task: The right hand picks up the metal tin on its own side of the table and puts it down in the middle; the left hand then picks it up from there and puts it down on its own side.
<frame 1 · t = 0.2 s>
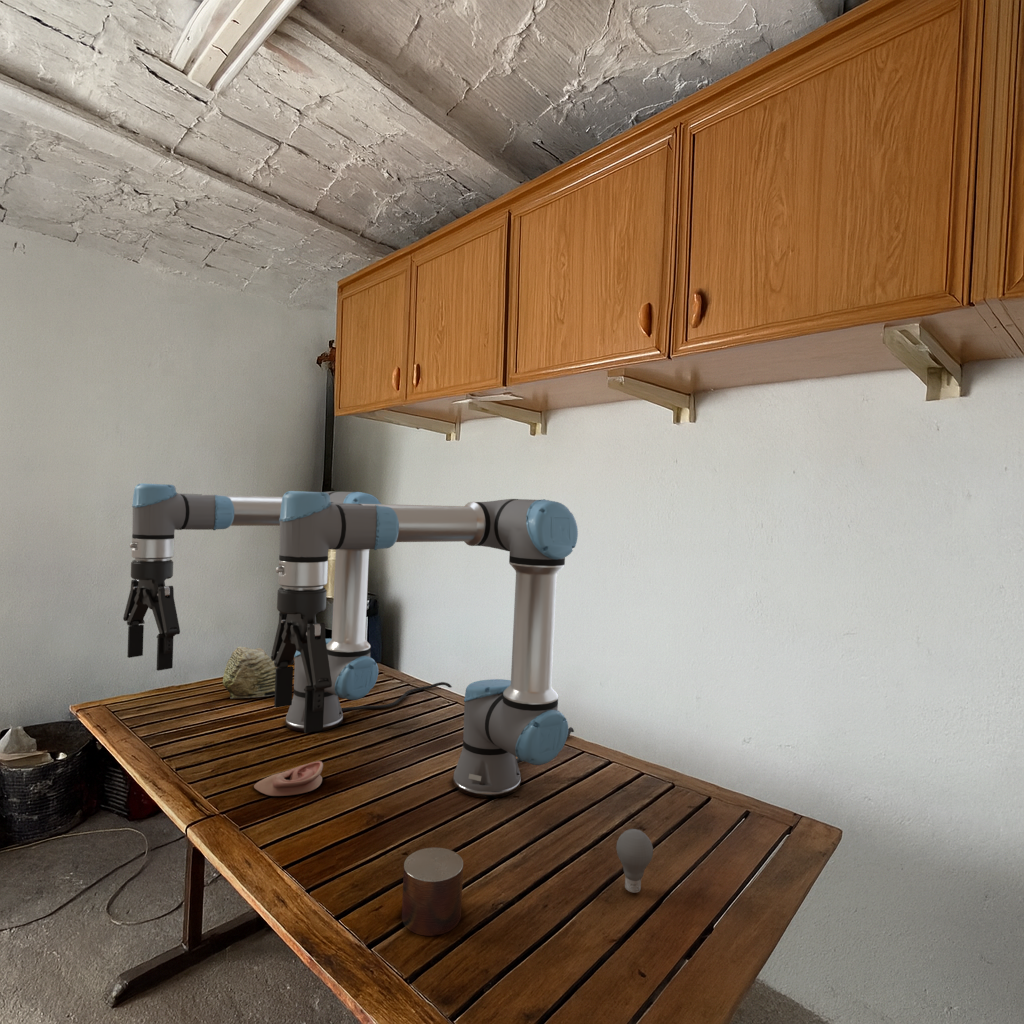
left hand: (149, 662, 130), 28 cm above the table, tool pointing down, fingers open, 13 cm apart
right hand: (297, 717, 102), 28 cm above the table, tool pointing down, fingers open, 13 cm apart
tin: (431, 915, 97), on the table
anatomical model: (288, 785, 138), on the table
fossil: (254, 694, 198), on the table
light bulb: (632, 891, 106), on the table
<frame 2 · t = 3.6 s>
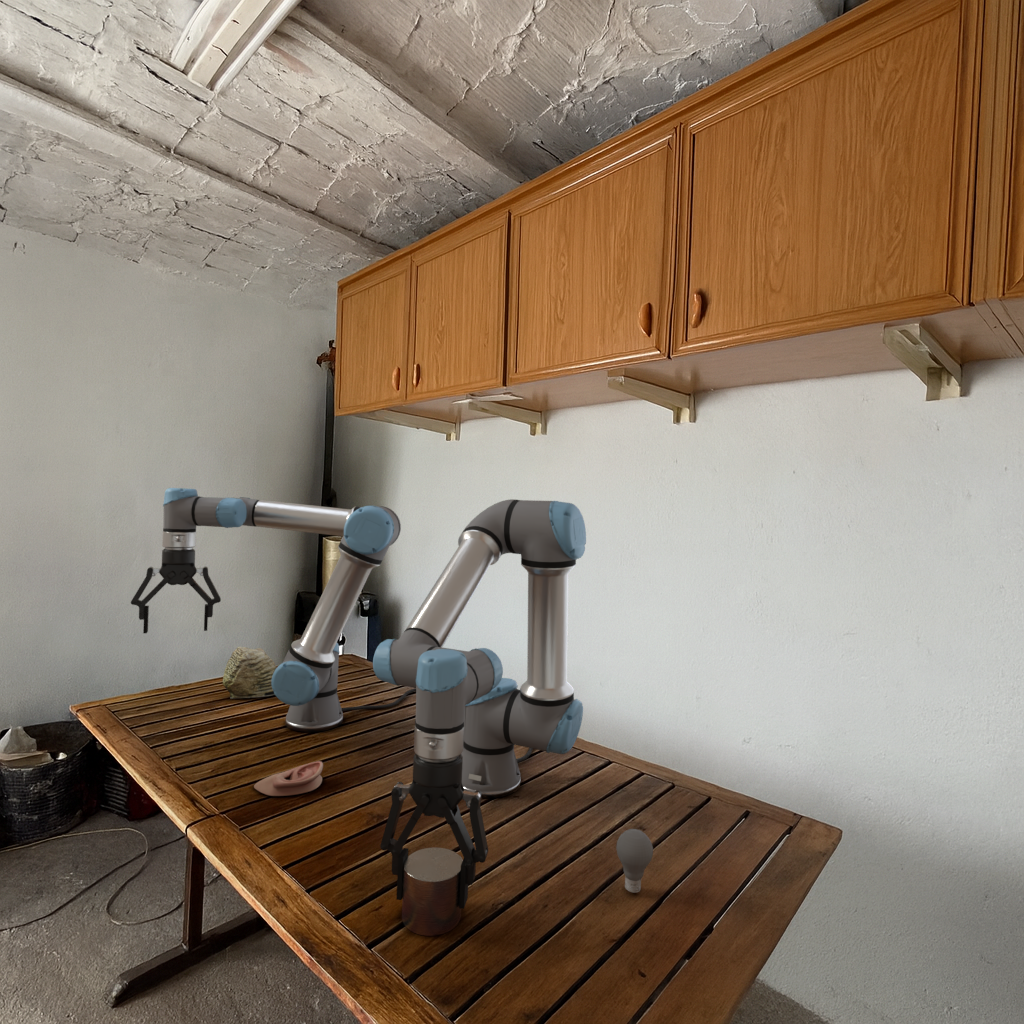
left hand: (176, 631, 162), 27 cm above the table, tool pointing down, fingers open, 13 cm apart
right hand: (432, 898, 97), 3 cm above the table, tool pointing down, fingers closed on tin, 9 cm apart
tin: (431, 915, 97), on the table, touching right hand
everything else where it was.
when the right hand's fingers open (4 cm above the table, at t = 9.9 s): tin drops 2 cm, on the table.
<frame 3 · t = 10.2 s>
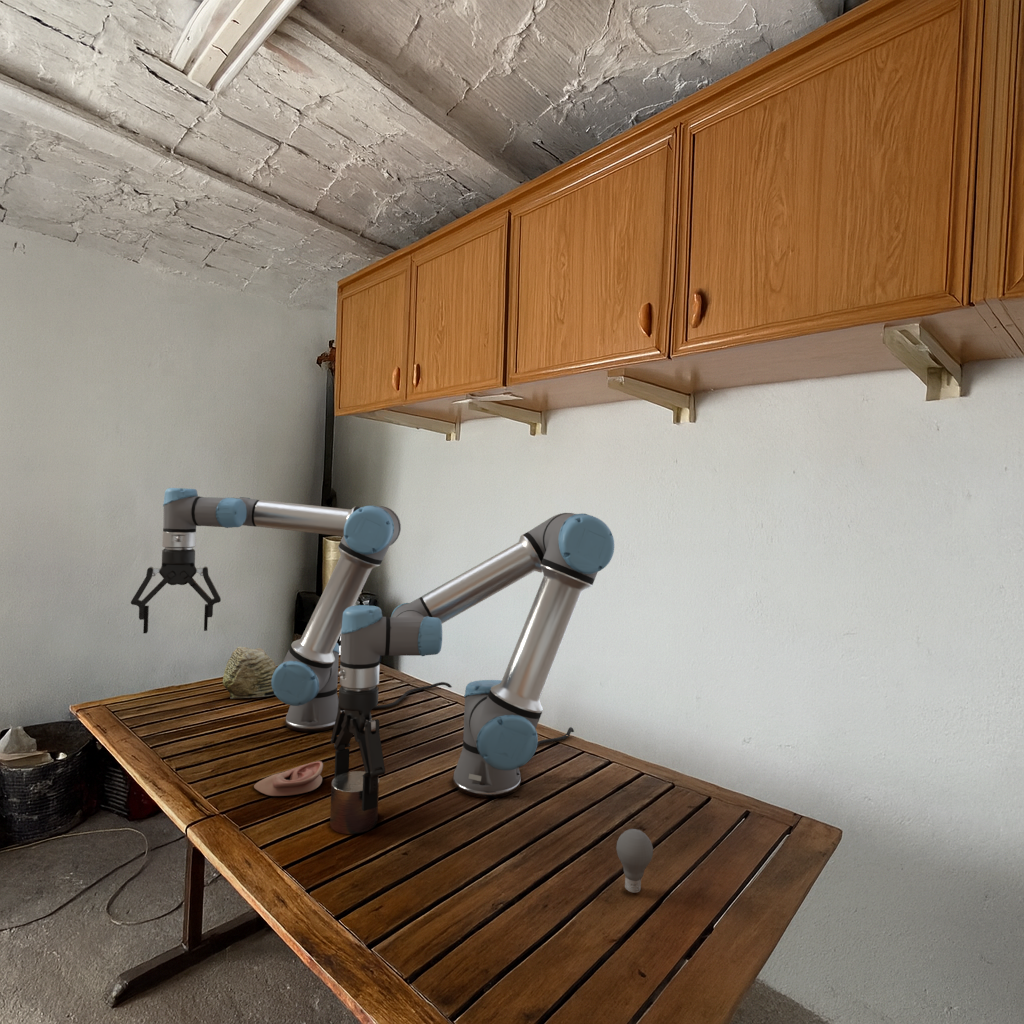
left hand: (176, 631, 162), 27 cm above the table, tool pointing down, fingers open, 13 cm apart
right hand: (354, 794, 124), 5 cm above the table, tool pointing down, fingers open, 12 cm apart
tin: (353, 822, 124), on the table
everything else where it was.
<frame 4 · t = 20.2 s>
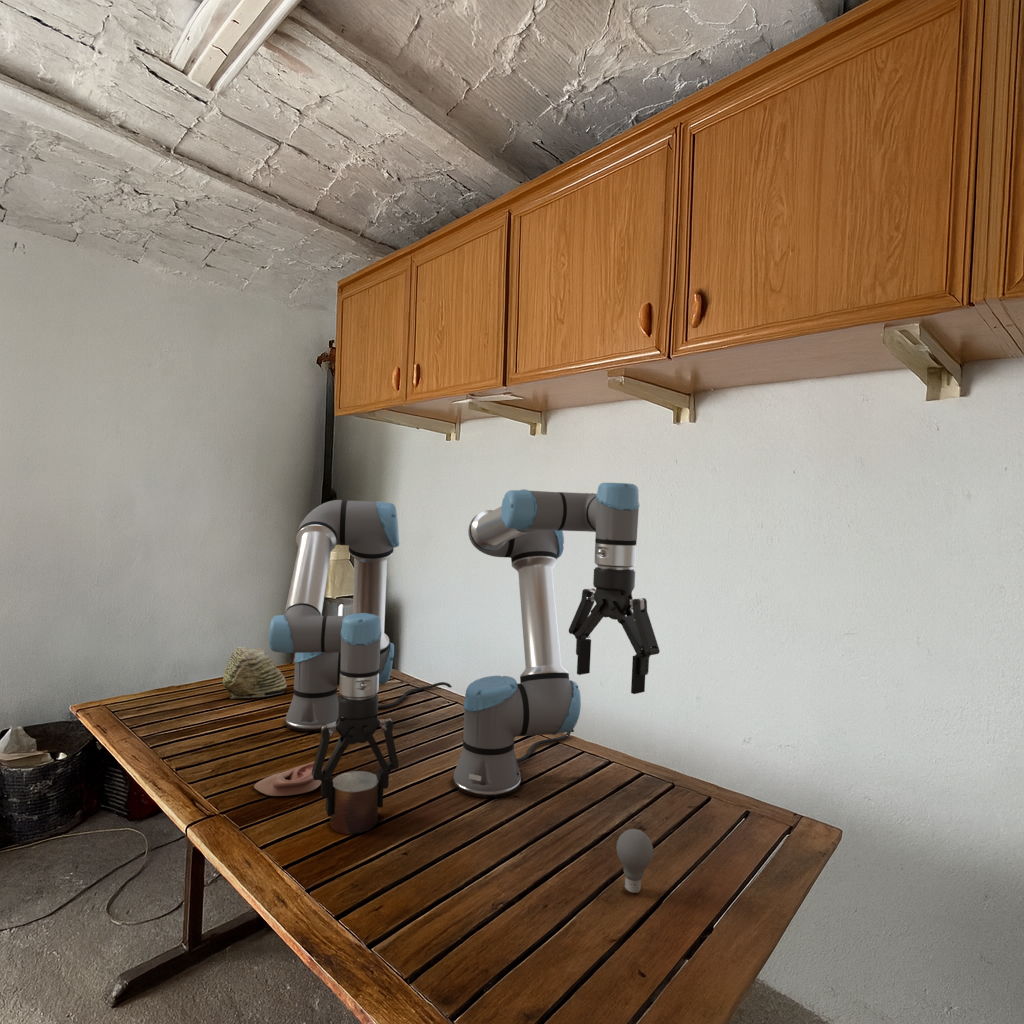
left hand: (354, 808, 124), 3 cm above the table, tool pointing down, fingers closed on tin, 9 cm apart
right hand: (609, 682, 116), 32 cm above the table, tool pointing down, fingers open, 13 cm apart
tin: (353, 822, 124), on the table, touching left hand
everything else where it was.
when the left hand's fingers open (4 cm above the table, at t = 32.1 s): tin drops 2 cm, on the table.
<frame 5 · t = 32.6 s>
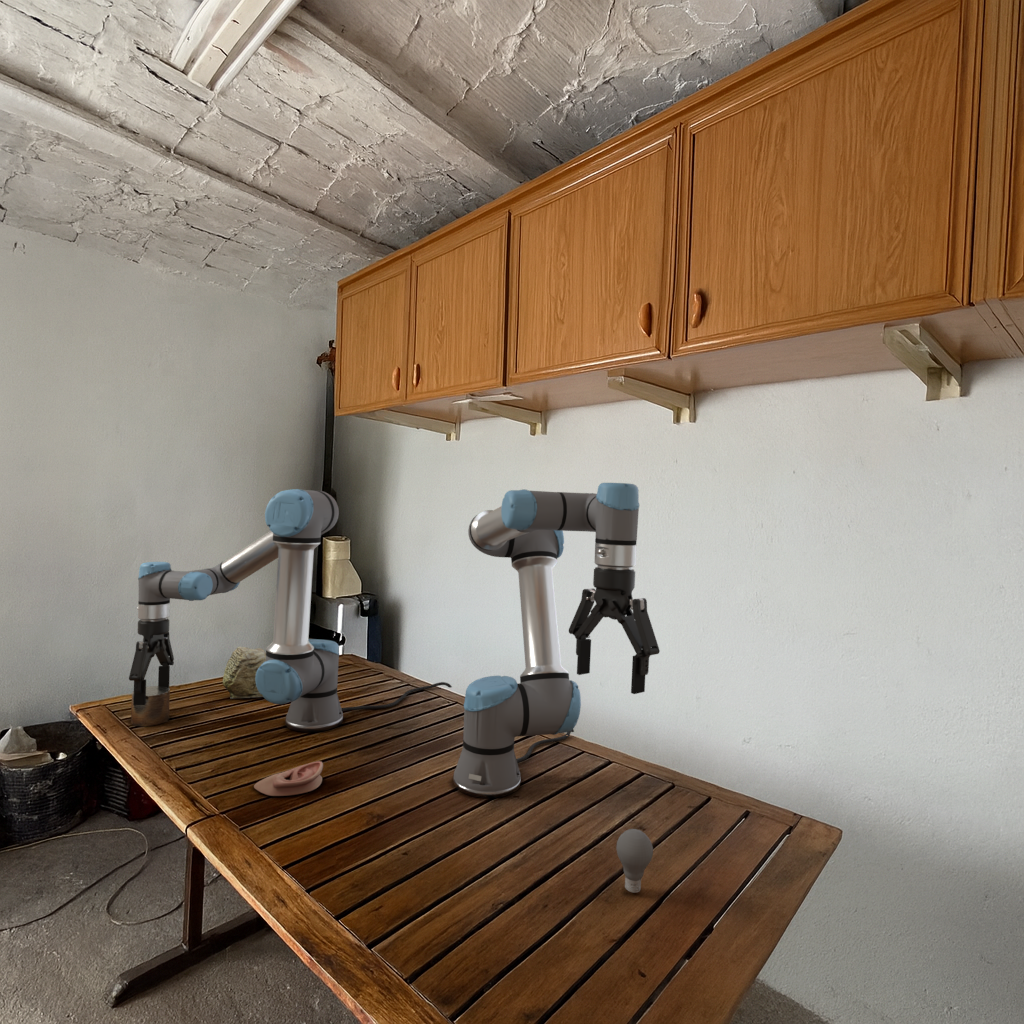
left hand: (152, 696, 173), 7 cm above the table, tool pointing down, fingers open, 13 cm apart
right hand: (609, 682, 116), 32 cm above the table, tool pointing down, fingers open, 13 cm apart
tin: (150, 720, 173), on the table
everything else where it was.
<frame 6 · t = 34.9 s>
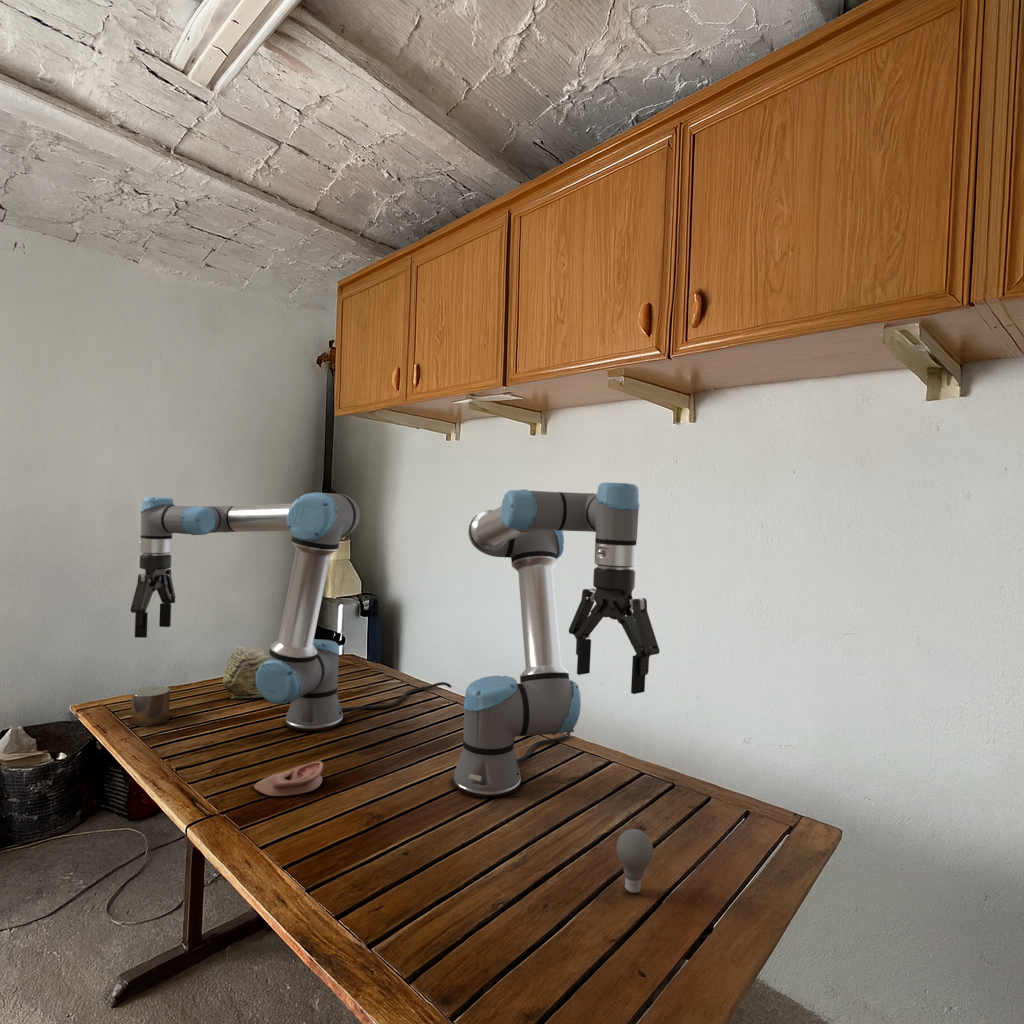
left hand: (153, 631, 172), 24 cm above the table, tool pointing down, fingers open, 13 cm apart
right hand: (609, 682, 116), 32 cm above the table, tool pointing down, fingers open, 13 cm apart
nothing on the table moved.
at the end: tin inside the target area (0.0 cm from its centre), on the table; tin tilted 0°; the two hands never held the tin at the same time; the left hand is holding nothing; the right hand is holding nothing; tin at rest at the end (0.0 cm/s) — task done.
